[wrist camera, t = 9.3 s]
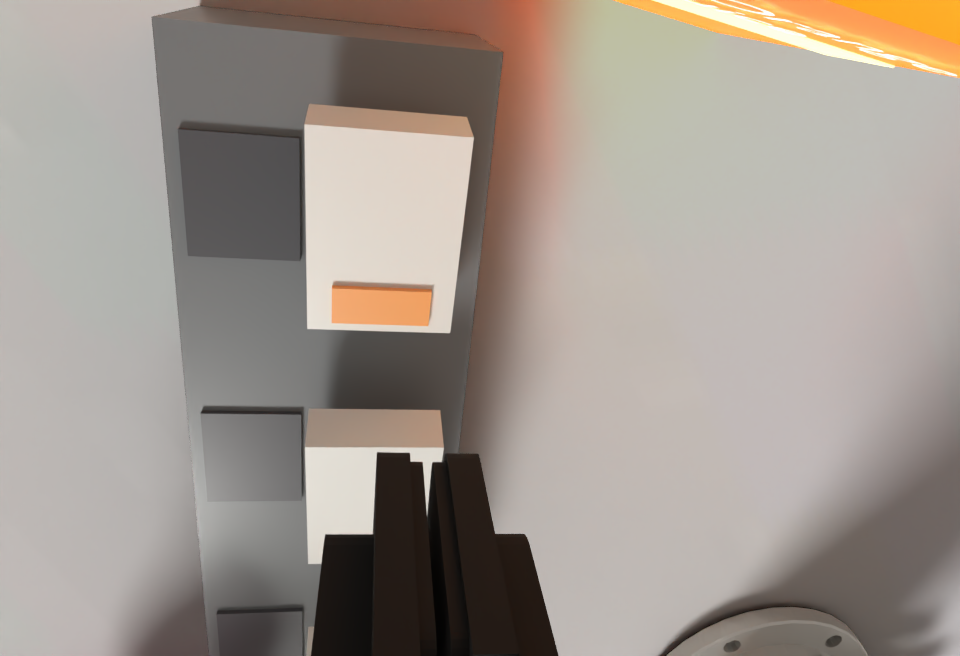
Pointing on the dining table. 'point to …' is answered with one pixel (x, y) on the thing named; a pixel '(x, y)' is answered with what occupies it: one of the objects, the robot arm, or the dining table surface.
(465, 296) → the power strip
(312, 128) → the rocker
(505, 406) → the dining table surface
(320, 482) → the block
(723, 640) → the robot arm
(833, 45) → the orange juice
